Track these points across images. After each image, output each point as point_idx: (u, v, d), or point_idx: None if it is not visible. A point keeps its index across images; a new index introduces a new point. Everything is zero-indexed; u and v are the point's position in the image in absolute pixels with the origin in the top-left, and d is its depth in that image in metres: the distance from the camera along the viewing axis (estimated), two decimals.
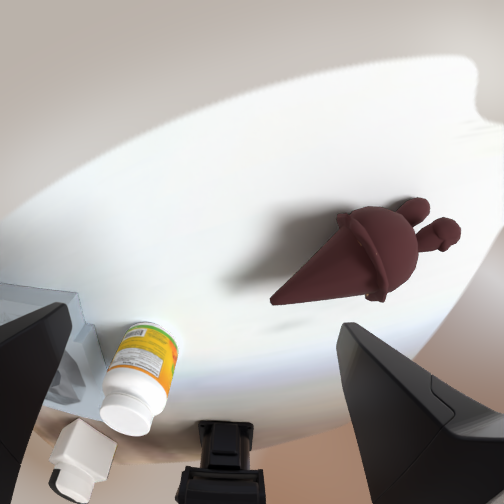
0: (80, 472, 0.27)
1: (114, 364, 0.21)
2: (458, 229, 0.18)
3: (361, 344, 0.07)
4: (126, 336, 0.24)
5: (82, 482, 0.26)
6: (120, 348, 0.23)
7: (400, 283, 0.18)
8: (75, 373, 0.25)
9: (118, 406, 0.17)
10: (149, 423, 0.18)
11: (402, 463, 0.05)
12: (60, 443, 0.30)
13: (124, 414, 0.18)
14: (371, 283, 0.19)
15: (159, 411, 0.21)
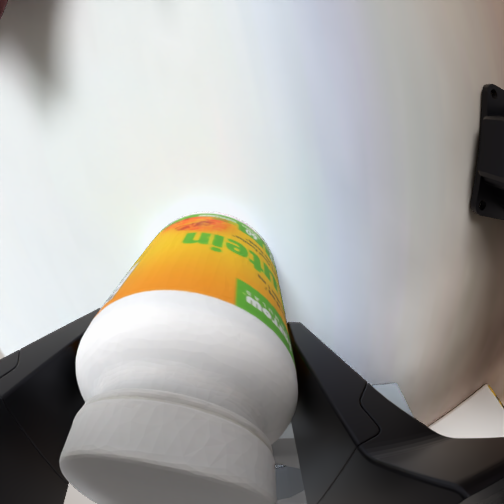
0: None
1: None
2: None
3: (297, 345, 0.07)
4: None
5: None
6: None
7: None
8: None
9: (67, 479, 0.04)
10: (135, 449, 0.03)
11: (327, 477, 0.05)
12: None
13: (103, 489, 0.04)
14: None
15: (227, 349, 0.05)
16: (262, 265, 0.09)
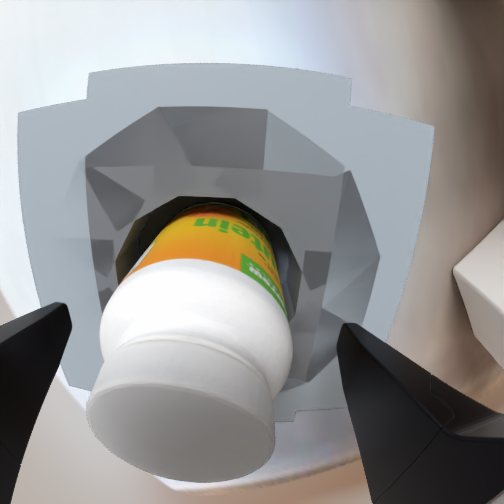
0: None
1: None
2: None
3: (361, 344, 0.07)
4: None
5: None
6: None
7: None
8: (207, 128, 0.09)
9: (90, 426, 0.05)
10: (161, 375, 0.05)
11: (402, 463, 0.05)
12: (500, 345, 0.12)
13: (124, 430, 0.05)
14: None
15: (235, 304, 0.06)
16: (262, 247, 0.10)
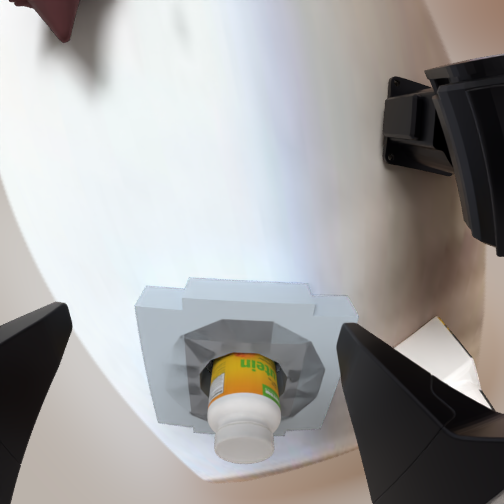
0: None
1: None
2: None
3: (361, 344, 0.07)
4: None
5: None
6: None
7: None
8: (246, 328, 0.21)
9: (215, 449, 0.17)
10: (244, 434, 0.16)
11: (402, 463, 0.05)
12: None
13: (228, 449, 0.17)
14: None
15: (261, 408, 0.18)
16: (269, 370, 0.22)
